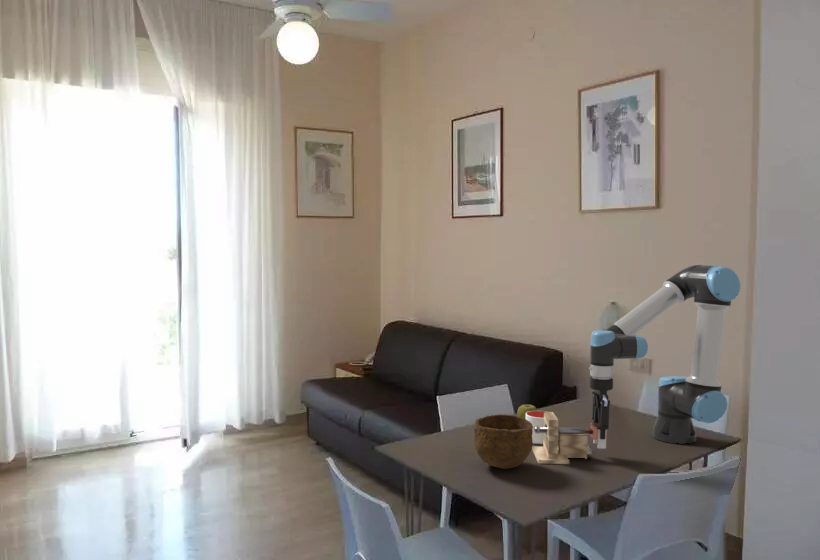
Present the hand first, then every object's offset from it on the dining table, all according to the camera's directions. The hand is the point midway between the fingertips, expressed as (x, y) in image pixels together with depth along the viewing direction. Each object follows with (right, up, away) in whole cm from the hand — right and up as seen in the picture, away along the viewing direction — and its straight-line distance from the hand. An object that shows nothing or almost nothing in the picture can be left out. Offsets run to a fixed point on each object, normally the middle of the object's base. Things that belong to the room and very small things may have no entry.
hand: (599, 445), depth 217 cm
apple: (-17, -2, +41) cm, 44 cm away
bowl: (-34, -5, -9) cm, 35 cm away
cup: (-17, -3, +18) cm, 25 cm away
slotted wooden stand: (-13, -4, +1) cm, 14 cm away
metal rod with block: (-10, +3, 0) cm, 10 cm away
